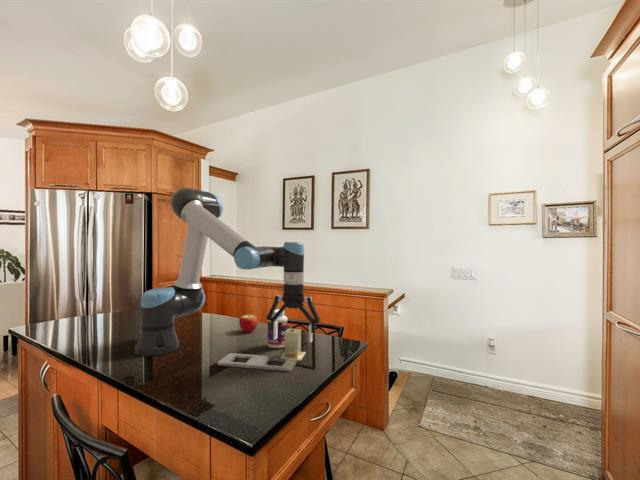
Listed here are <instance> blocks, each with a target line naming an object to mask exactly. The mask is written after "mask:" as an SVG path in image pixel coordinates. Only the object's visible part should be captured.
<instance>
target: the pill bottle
mask: <svg viewBox="0 0 640 480" xmlns="http://www.w3.org/2000/svg"><path fill="white" fill-rule="evenodd" d="M279 310H280V308H279V309H277V308H276V309H275V311H274V313H273V315H272V317H274V315H275V314H276V313H277V312H278V311H279ZM288 320H289V319H288V317H287V316H286V315H285V310H284V311H283V312H282V313H281V314H280V315H279V317H278V318H277V319H276V320H275V321H278V338H277V339H276V340H273V330H271V321H270V320H267V346H268V347H269V348H271V349H283V348H284V335H285V331H286V330H288V322H289V321H288Z"/></svg>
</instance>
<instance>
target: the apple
mask: <svg viewBox="0 0 640 480" xmlns="http://www.w3.org/2000/svg"><path fill="white" fill-rule="evenodd" d="M251 311H252V310H250V311H249V313H248V314H245V315H242V316H240V318H239V322H238V323H239V326H240V329H241V330H242V331H243V332H244V333H252V332H254V331H255V330H256V328H257V327H258V323H259V322H258V321H259V319H258V317H257V315H254V314H251Z"/></svg>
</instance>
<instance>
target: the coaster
mask: <svg viewBox="0 0 640 480" xmlns="http://www.w3.org/2000/svg"><path fill="white" fill-rule="evenodd" d="M306 354H307V352H306V351H301V354H300V355H299V357H298V362H302V360H303V358H304V357H305V356H306ZM280 357H284V352H283V353H282V354H281V356H280ZM286 358H291V357H286Z"/></svg>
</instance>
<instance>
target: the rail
mask: <svg viewBox="0 0 640 480" xmlns="http://www.w3.org/2000/svg"><path fill="white" fill-rule="evenodd" d="M237 359H245V360H246V359H247V361H246V362H242V361H240V362H238V361H236V360H237ZM271 361H272V362H273V361H274V362H283V364H282V365H273V364H269V363H270V362H271ZM298 362H299V361H298V358H286V357H281V356H271V355H257V354H247V353H246V354H245V353H234V352H230V353H228V354H226V355H225V356H224V357H223V358H222V359H220V360H219V361H217V366H223V367H235V368H246V369H255V370H256V369H258V370H266V371H267V370H269V371H281V372H290V373H291V371H293V369H294V367H295V366H296V365H297V363H298Z"/></svg>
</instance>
